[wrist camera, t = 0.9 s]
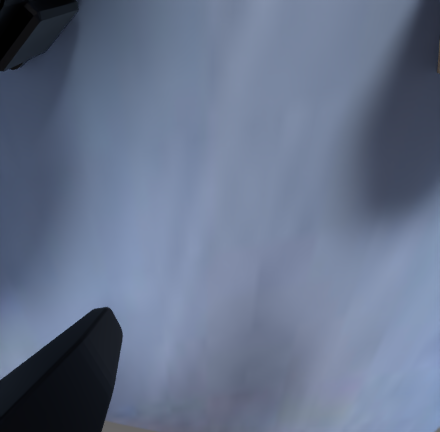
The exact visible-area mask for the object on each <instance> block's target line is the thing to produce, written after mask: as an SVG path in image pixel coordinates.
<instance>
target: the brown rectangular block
mask: <svg viewBox="0 0 440 432" xmlns="http://www.w3.org/2000/svg"><path fill="white" fill-rule="evenodd" d="M437 73H439V74H440V41H439V56H438V70H437Z"/></svg>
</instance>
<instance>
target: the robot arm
mask: <svg viewBox="0 0 440 432" xmlns="http://www.w3.org/2000/svg"><path fill="white" fill-rule="evenodd" d="M78 10H79V9H78V2H77V1H76V0H0V71H6V70H8V69H11V70H15V69H18V68H20V67H22V66H23V65H24V64H25V63H26V61H27V60H29V59H31V58H33V57H35V56H37V55H40V54H42V53H44V52H46V51H47V50H48V48H49V47H50V46H51V45H52V43H53V42H54V41H55V40H56V38H57V37H58V36H59V34H60V33H61V32H62V31H63V29H64V28H65V27H66V26H67V24H68V23H69V22H70V21H71V19H72V18H73V17H74V15H75V14H76V13H77V12H78ZM122 338H123V334H122V329H121V327H120V325H119V323H118V321H117V319H116V317H115V315H114V314H113V312H112V310H111V309H110V308H109V307H103V308H97V309H93V310H92V311H90V312H89V313H88V314H86V315H85V316H84V317H82V318H81V319H80V320H79V321H77V322H76V323H75V324H73V325H72V326H71V327H69V328H68V329H67V330H65V331H64V332H63V333H62V334H60V335H59V336H58V337H56V338H55V339H54V340H52V341H51V342H50V343H48V344H47V345H46V346H44V347H43V348H42V349H41V350H39V351H38V352H37V353H35V354H34V355H33V356H31V357H30V358H29V359H27V360H26V361H25V362H24V363H22V364H21V365H20V366H18V367H17V368H16V369H14V370H13V371H12V372H10V373H9V374H8V375H7V376H5V377H4V378H3V379H1V380H0V432H101V431H102V428H103V425H104V421H105V418H106V414H107V411H108V408H109V404H110V401H111V397H112V393H113V389H114V385H115V379H116V374H117V368H118V362H119V356H120V351H121V345H122Z"/></svg>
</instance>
